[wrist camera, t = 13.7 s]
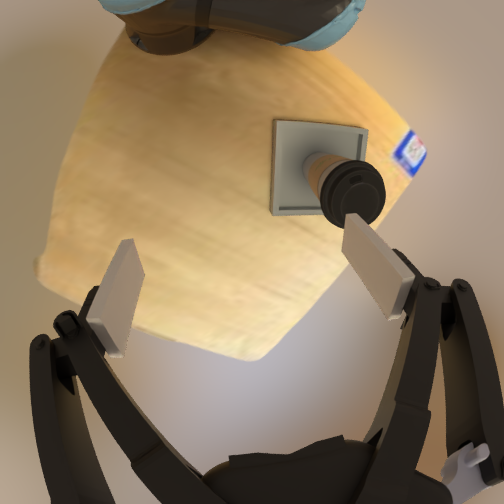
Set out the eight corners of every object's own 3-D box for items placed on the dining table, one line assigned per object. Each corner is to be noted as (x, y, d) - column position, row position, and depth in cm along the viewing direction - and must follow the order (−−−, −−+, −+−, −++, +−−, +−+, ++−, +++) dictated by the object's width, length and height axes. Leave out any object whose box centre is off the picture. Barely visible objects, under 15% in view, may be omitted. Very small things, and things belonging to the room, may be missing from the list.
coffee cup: (319, 131, 40) (364, 148, 28) (353, 168, 45) (401, 199, 32) (280, 170, 43) (310, 203, 31) (317, 204, 48) (353, 247, 35)
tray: (273, 119, 40) (276, 120, 38) (361, 127, 42) (368, 129, 40) (269, 210, 48) (272, 215, 46) (350, 209, 50) (356, 214, 48)
